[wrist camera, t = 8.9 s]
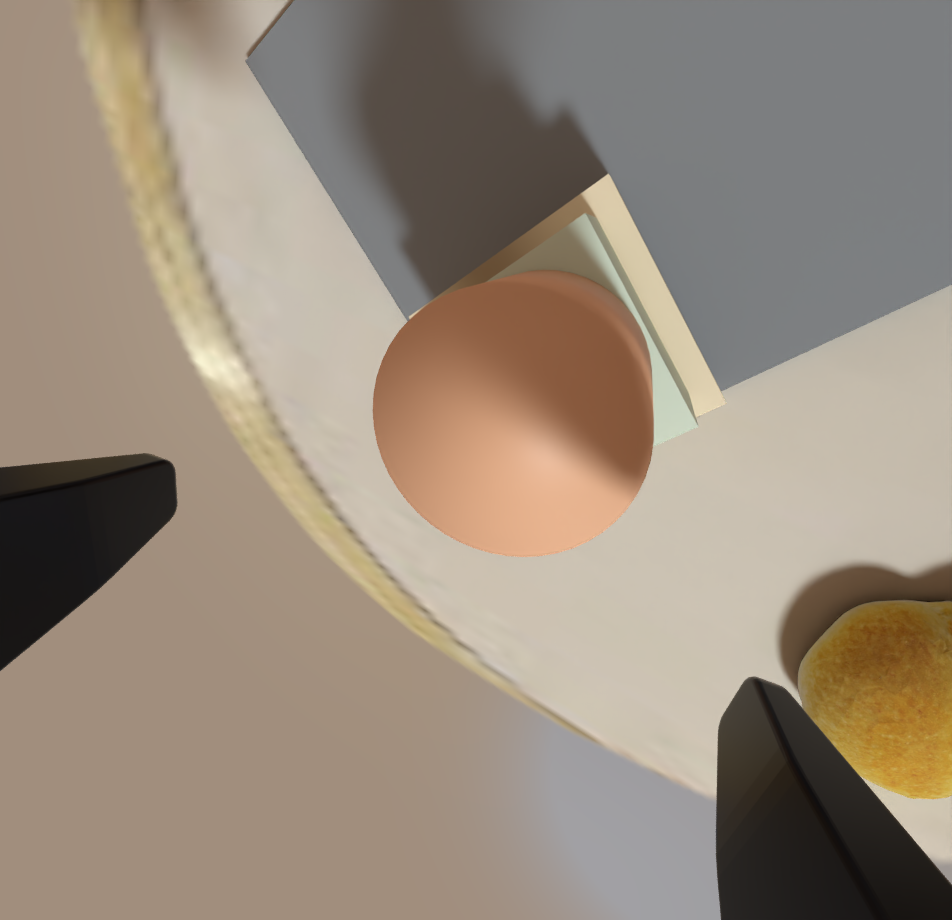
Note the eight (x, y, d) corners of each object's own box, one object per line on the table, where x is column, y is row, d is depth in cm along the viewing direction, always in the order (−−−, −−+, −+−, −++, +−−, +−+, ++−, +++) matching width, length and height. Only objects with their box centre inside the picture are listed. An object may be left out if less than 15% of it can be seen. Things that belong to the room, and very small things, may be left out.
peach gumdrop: (585, 221, 11) (556, 213, 8) (690, 423, 12) (708, 497, 9) (408, 342, 14) (323, 378, 10) (509, 503, 14) (464, 588, 11)
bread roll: (787, 589, 20) (817, 664, 16) (1101, 583, 17) (1221, 673, 13) (795, 748, 23) (823, 841, 19) (1068, 768, 19) (1162, 885, 16)
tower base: (615, 184, 16) (608, 173, 13) (714, 378, 17) (726, 403, 15) (441, 306, 19) (408, 317, 16) (536, 463, 20) (520, 496, 18)
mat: (751, -549, 11) (754, -575, 10) (1036, 240, 14) (1046, 240, 14) (253, 64, 18) (245, 61, 18) (513, 484, 21) (511, 488, 21)
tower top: (596, 218, 14) (585, 212, 11) (689, 393, 15) (698, 426, 12) (439, 325, 16) (399, 341, 14) (527, 469, 17) (505, 511, 15)
